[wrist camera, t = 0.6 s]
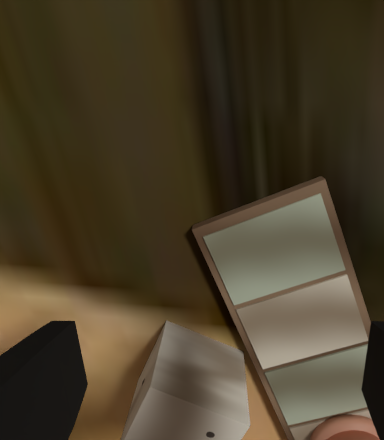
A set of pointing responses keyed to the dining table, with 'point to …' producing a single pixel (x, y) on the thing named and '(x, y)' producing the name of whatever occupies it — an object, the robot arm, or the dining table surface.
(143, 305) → the dining table surface
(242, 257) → the board
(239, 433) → the die
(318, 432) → the pawn
